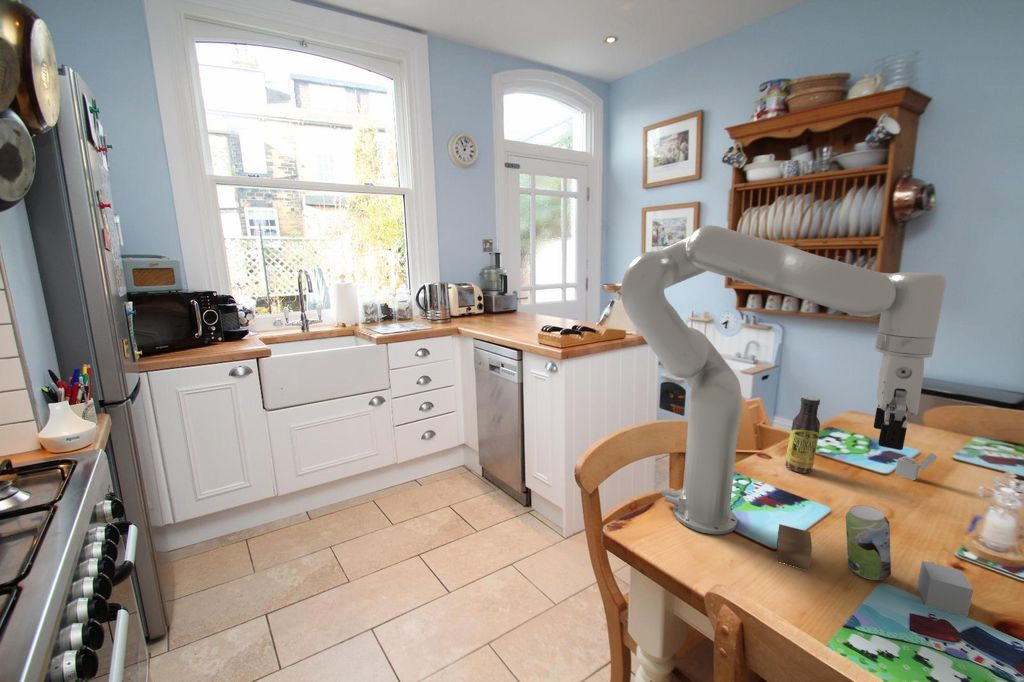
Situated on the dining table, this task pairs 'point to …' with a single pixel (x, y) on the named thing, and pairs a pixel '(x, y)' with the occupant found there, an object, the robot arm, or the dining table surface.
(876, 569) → the beverage can
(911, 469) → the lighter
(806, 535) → the walnut block
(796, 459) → the sauce bottle
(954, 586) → the slate grey block
